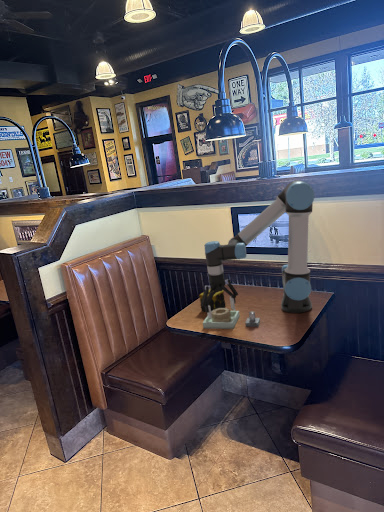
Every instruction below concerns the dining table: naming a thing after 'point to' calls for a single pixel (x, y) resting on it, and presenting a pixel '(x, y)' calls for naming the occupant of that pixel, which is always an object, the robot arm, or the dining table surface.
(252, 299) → the dining table surface
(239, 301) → the dining table surface
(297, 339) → the dining table surface
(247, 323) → the grey peg stand
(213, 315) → the ring
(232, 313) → the tray
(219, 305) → the yellow cube with holes
